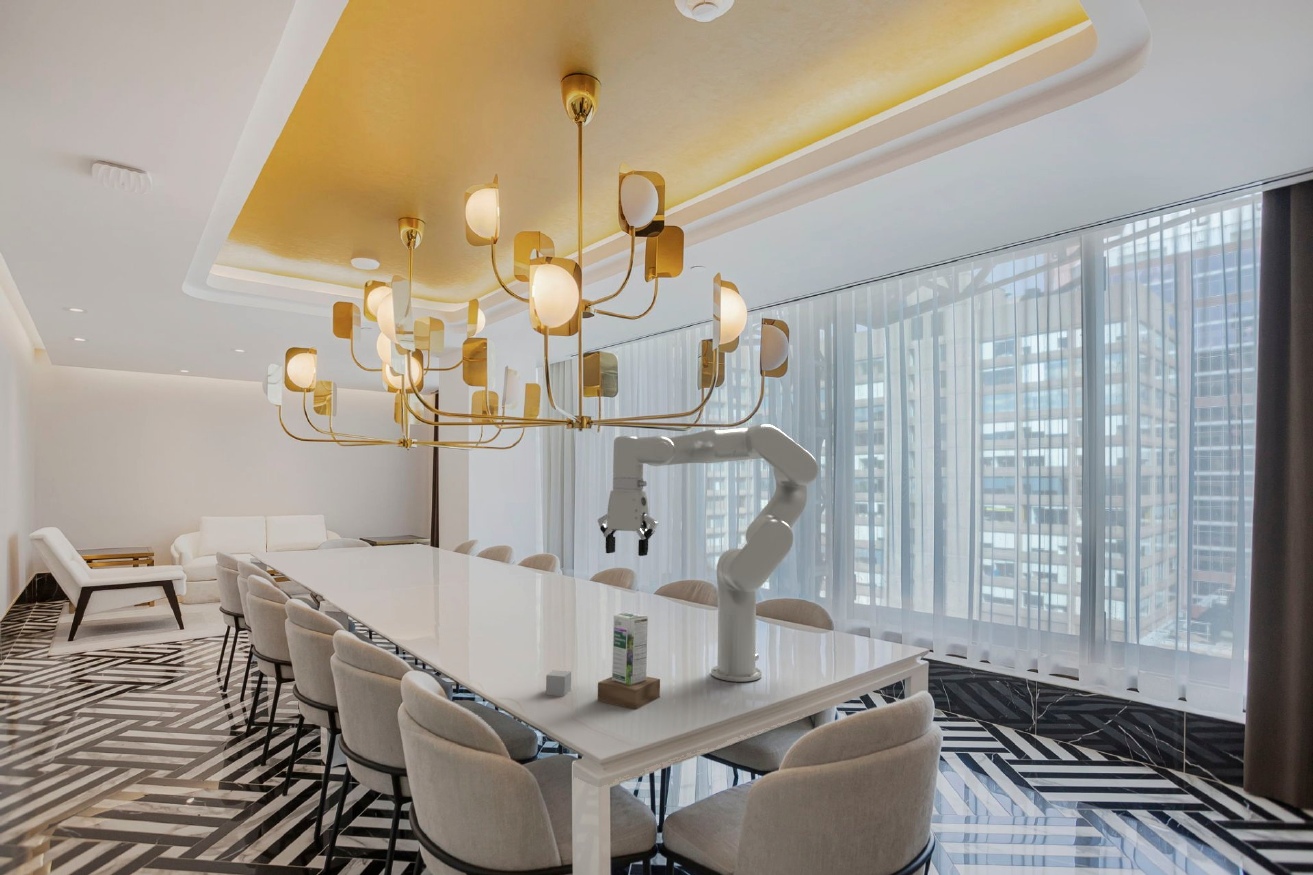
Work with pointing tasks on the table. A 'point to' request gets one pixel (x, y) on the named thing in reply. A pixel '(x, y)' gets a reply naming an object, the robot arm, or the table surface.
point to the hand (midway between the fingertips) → (626, 554)
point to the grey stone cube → (558, 683)
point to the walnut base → (629, 692)
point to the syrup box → (629, 648)
